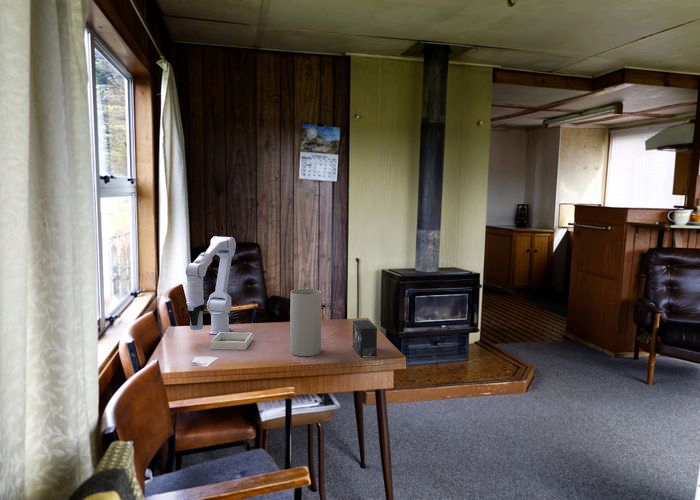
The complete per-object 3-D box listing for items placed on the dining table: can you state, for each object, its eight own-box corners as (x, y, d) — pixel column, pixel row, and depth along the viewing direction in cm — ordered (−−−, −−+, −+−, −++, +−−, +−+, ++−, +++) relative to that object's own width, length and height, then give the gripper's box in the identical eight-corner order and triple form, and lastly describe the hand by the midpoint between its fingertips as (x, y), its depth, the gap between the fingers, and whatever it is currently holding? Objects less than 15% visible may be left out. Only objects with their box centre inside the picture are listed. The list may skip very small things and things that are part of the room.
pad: (225, 341, 214) (225, 340, 214) (242, 341, 214) (242, 341, 214) (221, 346, 207) (221, 345, 207) (238, 346, 207) (238, 346, 207)
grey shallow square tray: (219, 338, 218) (219, 332, 218) (252, 339, 218) (252, 332, 218) (209, 348, 203) (209, 341, 203) (245, 349, 203) (245, 342, 203)
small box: (351, 347, 209) (352, 320, 208) (367, 346, 211) (368, 319, 210) (360, 357, 197) (361, 328, 196) (377, 356, 199) (377, 327, 197)
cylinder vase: (325, 354, 200) (327, 293, 197) (297, 358, 194) (298, 295, 191) (312, 345, 211) (313, 288, 208) (285, 349, 204) (285, 290, 202)
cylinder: (192, 326, 211) (192, 310, 210) (204, 326, 211) (204, 310, 210) (188, 329, 206) (188, 313, 205) (200, 330, 206) (200, 313, 205)
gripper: (192, 288, 214) (192, 319, 216) (180, 295, 200) (181, 328, 201) (208, 288, 214) (208, 319, 216) (197, 295, 200) (198, 328, 201)
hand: (196, 323), depth 208 cm, fingers closed on cylinder, 5 cm apart
